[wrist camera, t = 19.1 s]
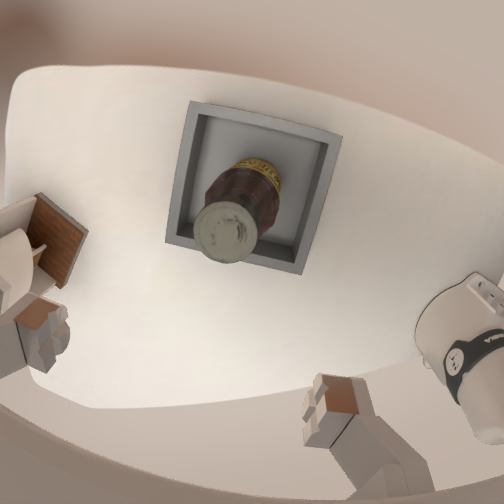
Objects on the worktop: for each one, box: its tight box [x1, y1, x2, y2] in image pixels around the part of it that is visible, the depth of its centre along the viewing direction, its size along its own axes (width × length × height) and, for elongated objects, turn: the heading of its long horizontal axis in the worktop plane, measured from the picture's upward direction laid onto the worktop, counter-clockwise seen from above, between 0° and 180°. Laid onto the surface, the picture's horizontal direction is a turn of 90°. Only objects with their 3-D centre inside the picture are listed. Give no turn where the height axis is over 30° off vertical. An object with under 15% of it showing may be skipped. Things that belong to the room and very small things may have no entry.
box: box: [165, 101, 343, 275], centre depth 36 cm, size 16×16×6 cm
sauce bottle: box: [193, 158, 281, 264], centre depth 28 cm, size 7×6×20 cm
